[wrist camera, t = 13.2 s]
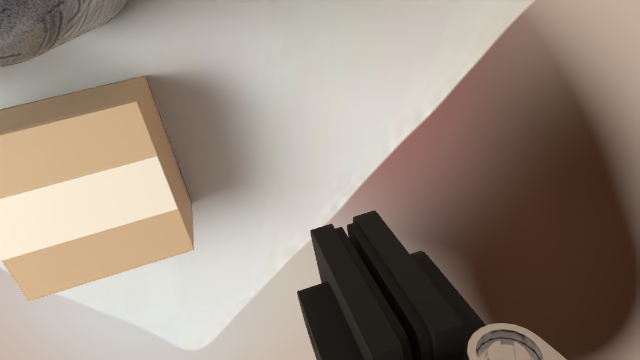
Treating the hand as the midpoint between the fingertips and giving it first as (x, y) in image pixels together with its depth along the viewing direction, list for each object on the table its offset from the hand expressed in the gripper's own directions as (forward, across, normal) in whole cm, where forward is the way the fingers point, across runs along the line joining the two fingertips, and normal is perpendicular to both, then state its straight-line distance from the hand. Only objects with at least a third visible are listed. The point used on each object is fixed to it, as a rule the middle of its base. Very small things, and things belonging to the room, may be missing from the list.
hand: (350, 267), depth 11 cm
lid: (+27, +15, +8) cm, 32 cm away
